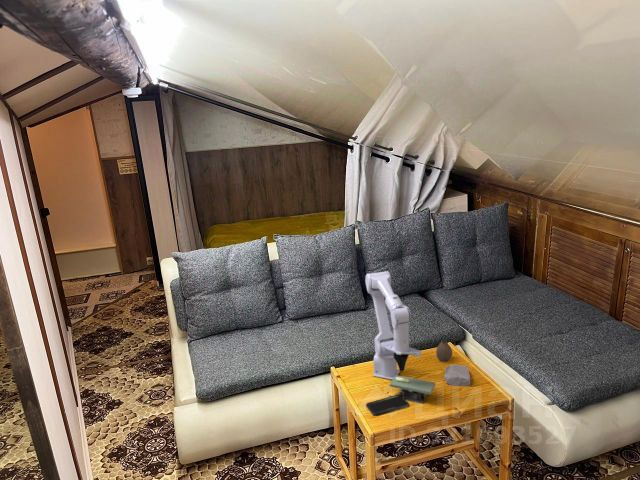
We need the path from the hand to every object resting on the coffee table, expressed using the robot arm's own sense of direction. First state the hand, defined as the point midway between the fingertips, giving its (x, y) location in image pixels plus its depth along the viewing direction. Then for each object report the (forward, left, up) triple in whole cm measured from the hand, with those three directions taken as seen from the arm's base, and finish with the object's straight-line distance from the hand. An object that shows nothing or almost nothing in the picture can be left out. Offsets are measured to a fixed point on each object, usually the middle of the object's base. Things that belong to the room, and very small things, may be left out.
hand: (402, 370), depth 178 cm
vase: (+9, +32, -11) cm, 35 cm away
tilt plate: (+4, 0, -6) cm, 7 cm away
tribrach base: (+4, 0, -10) cm, 11 cm away
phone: (-3, -10, -11) cm, 15 cm away
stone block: (+17, +19, -11) cm, 28 cm away
